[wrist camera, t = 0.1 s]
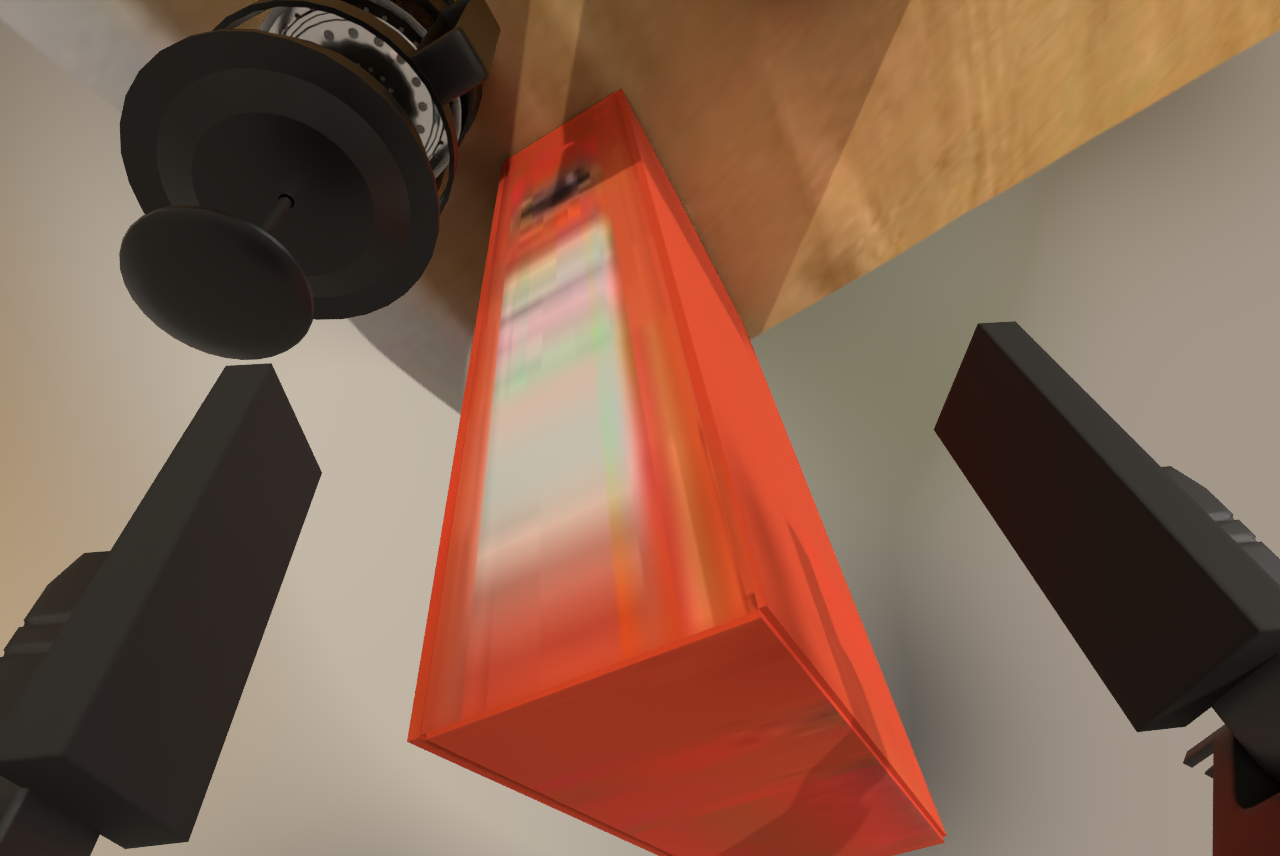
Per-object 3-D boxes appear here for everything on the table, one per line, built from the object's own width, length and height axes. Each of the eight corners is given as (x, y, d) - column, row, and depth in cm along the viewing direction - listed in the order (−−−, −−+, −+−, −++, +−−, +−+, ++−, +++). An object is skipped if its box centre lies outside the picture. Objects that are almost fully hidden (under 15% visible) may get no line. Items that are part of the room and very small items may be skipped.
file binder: (641, 371, 47) (737, 896, 23) (497, 165, 36) (405, 750, 13) (742, 321, 45) (958, 838, 21) (621, 87, 34) (786, 607, 11)
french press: (367, 195, 37) (213, 492, 20) (229, 24, 31) (-164, 237, 14) (545, 91, 34) (546, 328, 17) (432, -117, 28) (260, -72, 11)
